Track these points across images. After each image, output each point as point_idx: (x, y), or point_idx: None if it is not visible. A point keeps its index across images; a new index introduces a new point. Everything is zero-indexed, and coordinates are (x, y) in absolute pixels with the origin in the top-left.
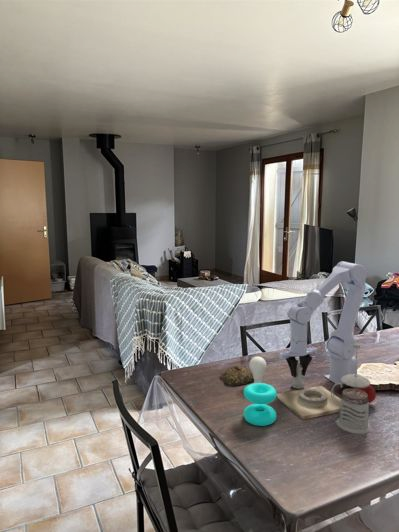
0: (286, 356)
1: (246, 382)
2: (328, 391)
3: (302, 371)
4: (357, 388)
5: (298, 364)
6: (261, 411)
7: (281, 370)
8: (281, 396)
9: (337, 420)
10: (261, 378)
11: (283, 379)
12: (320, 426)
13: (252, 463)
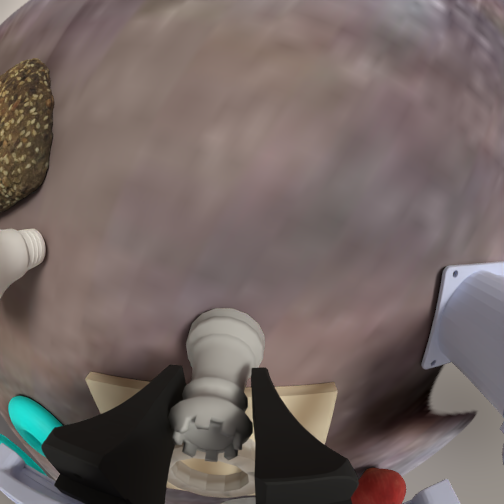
0: (49, 495)
1: (9, 207)
2: (323, 434)
3: (252, 410)
4: (368, 500)
5: (222, 432)
6: (38, 450)
7: (258, 69)
8: (100, 400)
9: (229, 502)
10: (19, 277)
11: (192, 207)
12: (176, 497)
13: (50, 472)
